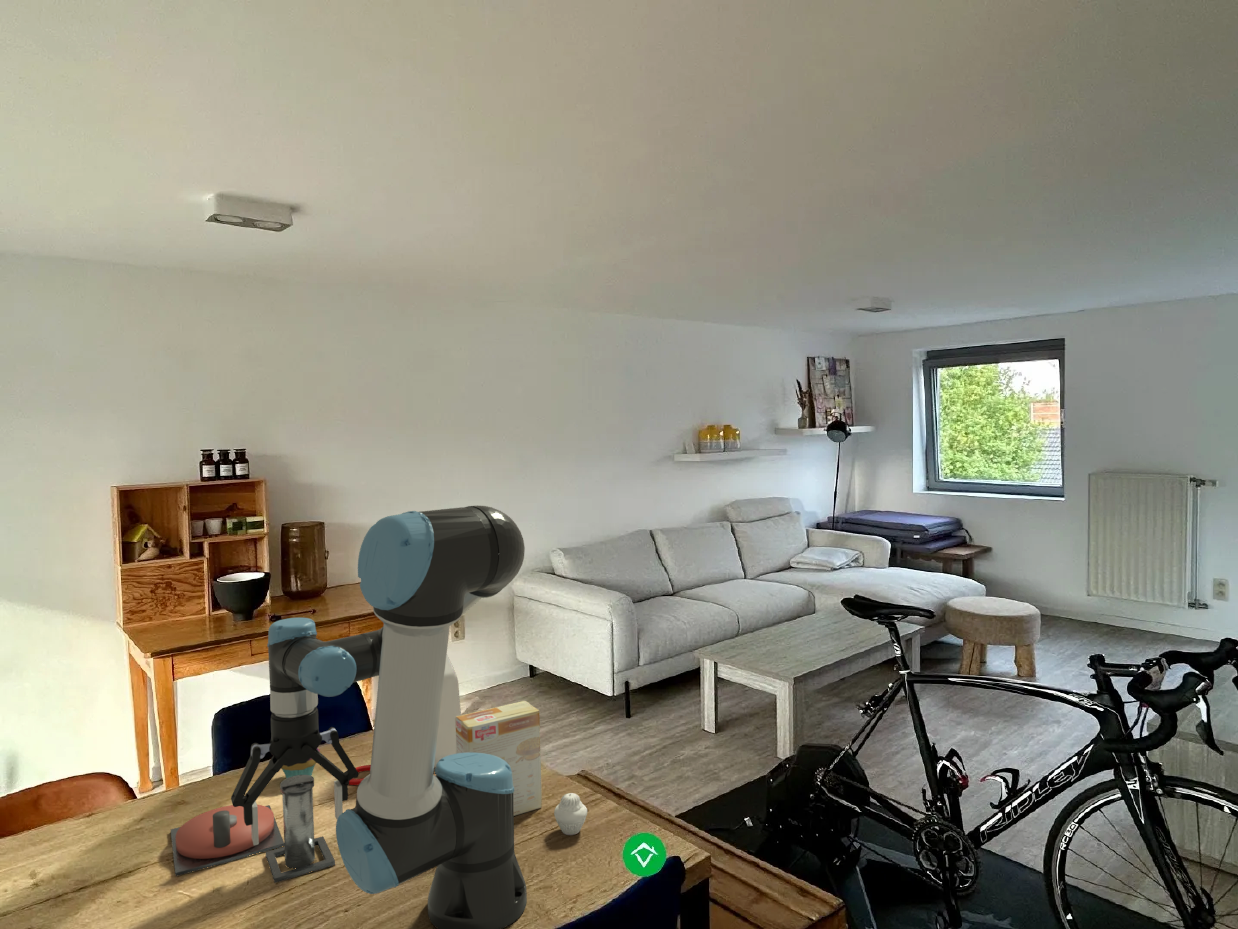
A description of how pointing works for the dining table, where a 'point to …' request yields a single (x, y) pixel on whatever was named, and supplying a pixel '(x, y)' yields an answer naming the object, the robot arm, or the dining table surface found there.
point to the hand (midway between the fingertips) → (298, 830)
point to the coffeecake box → (508, 746)
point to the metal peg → (298, 820)
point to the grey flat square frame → (304, 869)
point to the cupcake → (299, 768)
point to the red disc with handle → (221, 832)
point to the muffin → (570, 814)
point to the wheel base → (192, 864)
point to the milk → (448, 714)
